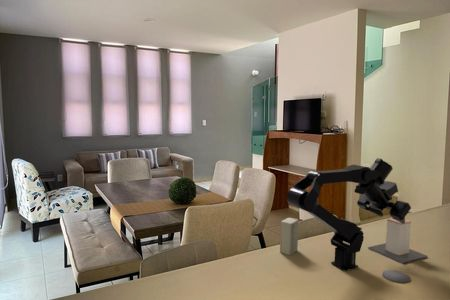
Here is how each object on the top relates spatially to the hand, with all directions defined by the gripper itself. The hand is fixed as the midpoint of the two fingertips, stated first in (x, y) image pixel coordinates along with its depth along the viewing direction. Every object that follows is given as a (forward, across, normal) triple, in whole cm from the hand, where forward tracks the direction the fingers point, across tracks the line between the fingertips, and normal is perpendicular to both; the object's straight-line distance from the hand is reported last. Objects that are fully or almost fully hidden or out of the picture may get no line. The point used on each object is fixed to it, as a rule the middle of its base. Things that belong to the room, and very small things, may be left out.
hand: (392, 219), depth 127 cm
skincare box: (-13, +18, +33) cm, 40 cm away
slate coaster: (0, -13, +19) cm, 23 cm away
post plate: (+12, 0, +7) cm, 14 cm away
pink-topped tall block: (+12, 0, +7) cm, 13 cm away
